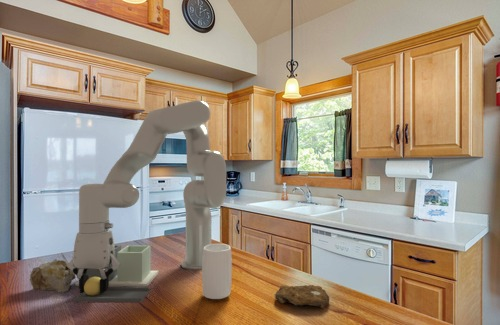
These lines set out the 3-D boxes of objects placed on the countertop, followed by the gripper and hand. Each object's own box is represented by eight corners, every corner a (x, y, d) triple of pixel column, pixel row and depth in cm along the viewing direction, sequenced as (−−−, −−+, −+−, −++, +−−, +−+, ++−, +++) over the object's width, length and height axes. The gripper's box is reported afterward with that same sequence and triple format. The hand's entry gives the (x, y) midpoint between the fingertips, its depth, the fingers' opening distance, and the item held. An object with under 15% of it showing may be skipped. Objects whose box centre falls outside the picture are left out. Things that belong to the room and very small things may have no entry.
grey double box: (158, 274, 101) (158, 244, 101) (146, 287, 90) (147, 254, 90) (94, 273, 101) (94, 243, 101) (75, 287, 90) (75, 253, 90)
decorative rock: (279, 316, 75) (335, 314, 77) (280, 300, 75) (336, 299, 77) (269, 294, 86) (318, 292, 88) (270, 280, 86) (319, 279, 88)
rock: (84, 281, 91) (72, 252, 90) (67, 293, 85) (54, 262, 84) (54, 289, 94) (43, 260, 93) (36, 301, 88) (23, 271, 87)
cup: (198, 293, 86) (199, 245, 86) (226, 288, 90) (226, 242, 90) (206, 306, 78) (206, 253, 78) (235, 300, 82) (236, 249, 82)
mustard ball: (107, 291, 86) (107, 274, 86) (98, 299, 81) (98, 281, 81) (90, 290, 86) (90, 273, 86) (80, 298, 81) (80, 280, 81)
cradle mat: (151, 290, 88) (151, 286, 88) (141, 303, 80) (141, 299, 80) (87, 290, 88) (87, 285, 88) (71, 303, 80) (71, 298, 80)
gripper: (129, 224, 87) (129, 285, 87) (72, 224, 87) (72, 285, 88) (117, 230, 80) (117, 297, 80) (55, 230, 80) (55, 297, 80)
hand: (93, 290), depth 84 cm, fingers closed on mustard ball, 4 cm apart
